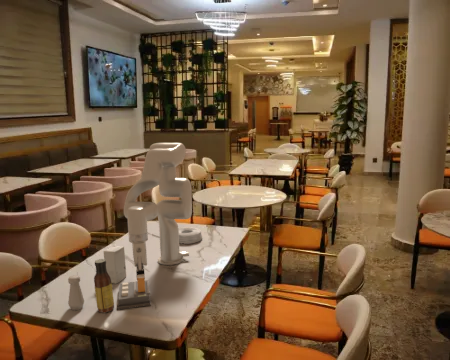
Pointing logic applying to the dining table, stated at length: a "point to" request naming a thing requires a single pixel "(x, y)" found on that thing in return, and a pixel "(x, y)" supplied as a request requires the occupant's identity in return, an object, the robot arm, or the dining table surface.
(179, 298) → the dining table surface
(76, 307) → the salt shaker
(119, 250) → the skincare box
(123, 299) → the breaker panel
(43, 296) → the dining table surface
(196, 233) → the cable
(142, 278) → the lever
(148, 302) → the dark brown grooved strip
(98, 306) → the sauce bottle
